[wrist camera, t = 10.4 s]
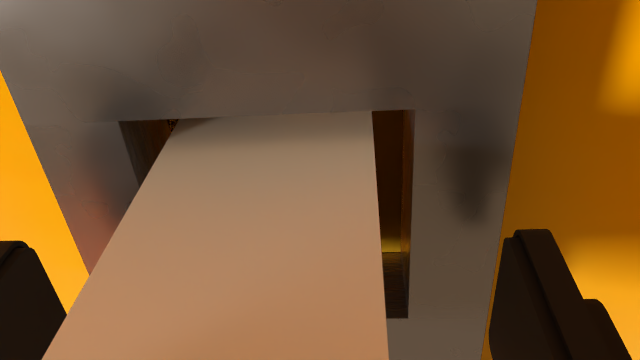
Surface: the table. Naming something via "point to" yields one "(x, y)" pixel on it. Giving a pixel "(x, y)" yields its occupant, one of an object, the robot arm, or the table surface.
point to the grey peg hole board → (290, 98)
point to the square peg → (243, 249)
